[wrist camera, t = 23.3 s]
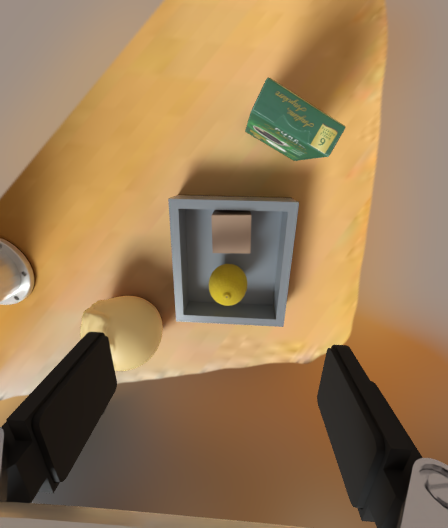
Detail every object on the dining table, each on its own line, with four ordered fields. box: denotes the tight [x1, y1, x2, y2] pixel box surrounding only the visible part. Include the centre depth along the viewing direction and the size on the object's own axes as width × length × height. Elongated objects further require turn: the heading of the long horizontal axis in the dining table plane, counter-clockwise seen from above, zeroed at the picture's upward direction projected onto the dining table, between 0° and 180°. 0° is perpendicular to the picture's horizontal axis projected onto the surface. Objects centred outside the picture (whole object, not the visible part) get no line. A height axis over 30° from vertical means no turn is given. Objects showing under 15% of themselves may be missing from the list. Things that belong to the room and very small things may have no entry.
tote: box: [169, 195, 299, 327], centre depth 36 cm, size 16×18×5 cm
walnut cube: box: [211, 210, 251, 253], centre depth 34 cm, size 5×5×5 cm
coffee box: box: [246, 78, 345, 161], centre depth 26 cm, size 8×3×13 cm, turn 62°
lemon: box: [209, 264, 247, 306], centre depth 35 cm, size 6×6×8 cm
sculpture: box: [80, 296, 163, 371], centre depth 39 cm, size 12×12×11 cm
